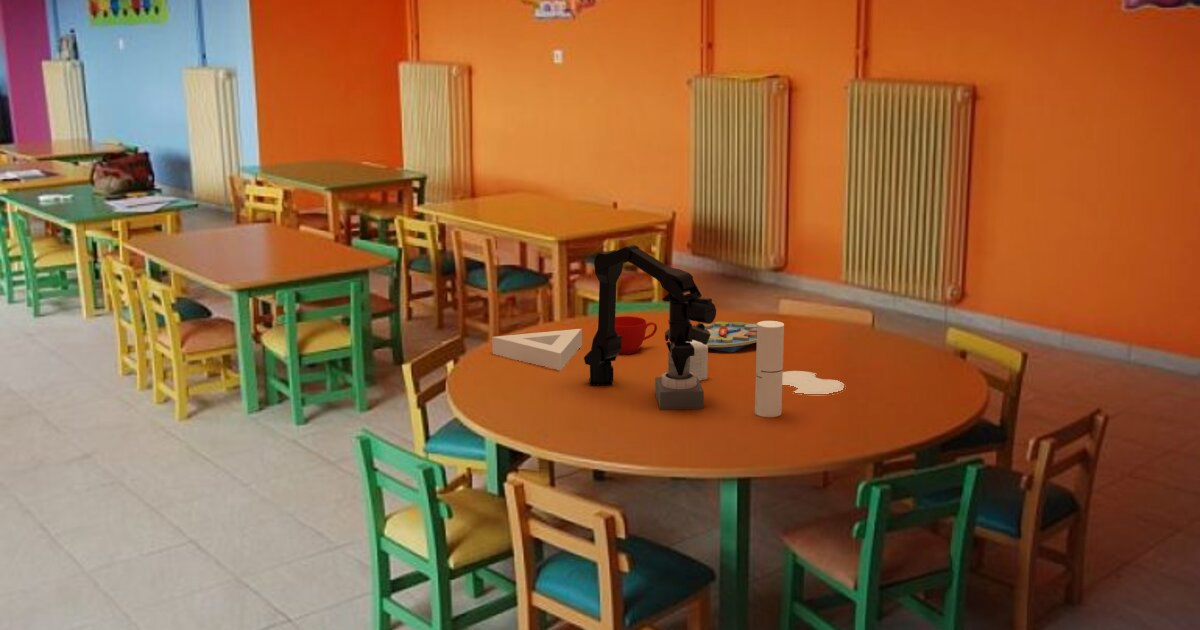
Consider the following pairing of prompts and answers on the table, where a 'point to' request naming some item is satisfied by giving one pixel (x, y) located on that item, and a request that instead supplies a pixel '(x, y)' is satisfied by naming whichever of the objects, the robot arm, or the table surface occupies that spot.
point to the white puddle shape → (810, 383)
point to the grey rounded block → (673, 372)
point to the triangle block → (540, 347)
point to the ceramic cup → (632, 332)
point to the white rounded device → (699, 360)
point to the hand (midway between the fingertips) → (679, 372)
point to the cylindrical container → (769, 368)
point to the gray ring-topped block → (679, 392)
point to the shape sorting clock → (730, 335)
